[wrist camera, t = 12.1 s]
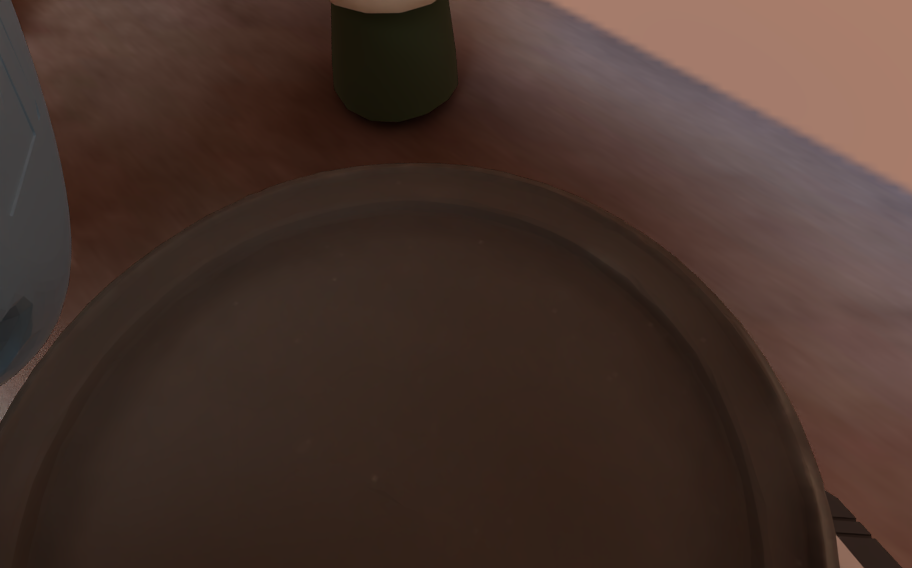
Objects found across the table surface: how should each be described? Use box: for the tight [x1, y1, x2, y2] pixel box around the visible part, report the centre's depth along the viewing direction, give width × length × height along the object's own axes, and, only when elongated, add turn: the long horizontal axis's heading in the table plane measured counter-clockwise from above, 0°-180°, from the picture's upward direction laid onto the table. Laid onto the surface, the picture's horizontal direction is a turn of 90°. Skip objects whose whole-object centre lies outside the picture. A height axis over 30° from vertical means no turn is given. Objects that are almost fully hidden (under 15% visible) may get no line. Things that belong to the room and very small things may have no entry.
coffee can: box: [0, 163, 840, 568], centre depth 13 cm, size 10×10×14 cm
